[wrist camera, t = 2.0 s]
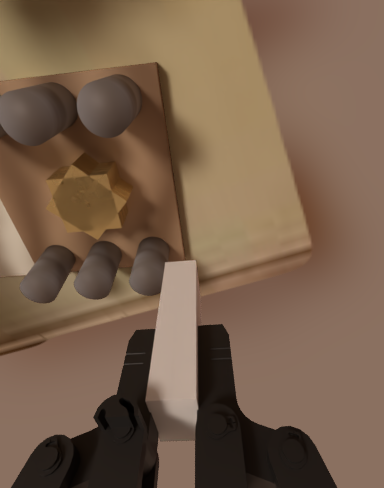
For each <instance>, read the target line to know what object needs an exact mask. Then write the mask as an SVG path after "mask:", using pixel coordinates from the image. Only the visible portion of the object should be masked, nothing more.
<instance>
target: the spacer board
mask: <svg viewBox="0 0 384 488" xmlns="http://www.w3.org/2000/svg"><path fill="white" fill-rule="evenodd" d="M83 153H86V154H87V155H89V156H90V157H92V158H93V159H94V160H96V161H97V162H99V163H103V162H113V161H116V165H117V169H118V173H119V177H120V178H122V179H123V180H124V181H126V182H127V183H129V184H130V185H132V186H133V188H132V191H131V193H130V195H129V198H128V200H127V202H126V204H127V208H128V214H127V216H126V219H125V221H124V224H123V226H122V228H116V229H106V230H105V231H104V232H103V234H102V235H101V236H100V238H99V239H98V240H97V239H95V238H94V237H92V236H90V235H89V234H87V233H85V232H83V231H82V232H70V233H67V231H66V228H65V226H64V223H63V221H62V219H61V218H60V217H58V216H56V215H55V214H53V213H51V212H50V211H48V210H46V207H47V206H48V204H49V202H50V200H51V199H52V194H51V192H50V189H49V187H48V184H47V182H46V179H48V178H49V177H50V176H51V175H52V174H53V173H54V172H55V171H57V170H58V169H59V168H60V167H64V166H71V165H72V164H73V163H74V162H75V161H76V160H77V159H78V158H79V157H80V156H81V155H82V154H83ZM176 261H185V252H184V245H183V238H182V231H181V224H180V217H179V210H178V203H177V197H176V190H175V183H174V176H173V169H172V162H171V155H170V148H169V141H168V134H167V127H166V120H165V113H164V106H163V99H162V92H161V85H160V78H159V71H158V64H157V62H155V63H147V64H139V65H130V66H122V67H114V68H106V69H97V70H89V71H81V72H73V73H64V74H56V75H48V76H40V77H31V78H23V79H15V80H7V81H0V277H7V276H19V275H26V276H25V278H24V279H23V280H22V282H21V283H20V290H21V292H22V294H23V295H24V296H25V297H27V298H28V299H30V300H32V301H34V302H37V303H50V302H52V301H53V300H55V298H56V297H57V295H58V293H59V291H60V289H61V288H62V286H63V284H64V282H65V280H66V279H67V277H68V275H69V273H70V272H73V271H79V273H78V275H77V277H76V279H75V281H74V287H75V289H76V291H77V292H78V293H79V294H81V295H82V296H84V297H86V298H89V299H102V298H105V297H106V296H107V295H108V294H109V293H110V290H111V287H112V284H113V281H114V279H115V276H116V273H117V270H118V268H123V267H133V268H132V271H131V275H130V279H129V283H130V286H131V287H132V289H133V290H134V291H136V292H137V293H139V294H142V295H147V296H151V295H156V294H158V293H160V292H161V289H162V282H163V275H164V268H165V262H176Z"/></svg>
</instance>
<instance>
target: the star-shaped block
mask: <svg viewBox="0 0 384 488" xmlns="http://www.w3.org/2000/svg"><path fill="white" fill-rule="evenodd" d="M46 182H47V184H48V187H49V189H50V192H51V194H52V199H51V200H50V202H49V204H48V206H47V207H46V210H48V211H50V212H51V213H53V214H55V215H56V216H58V217H60V218H61V219H62V221H63V223H64V226H65V228H66V231H67V233H70V232H82V231H83V232H85V233H87V234H89V235H90V236H92V237H94V238H95V239H97V240H98V239H99V238H100V236H101V235H102V234H103V232H104V231H105V230H106V229H116V228H122V226H123V224H124V221H125V219H126V216H127V214H128V208H127V204H126V202H127V200H128V198H129V195H130V193H131V191H132V188H133V186H132V185H130V184H129V183H127V182H126V181H124V180H123V179H122V178H120V177H119V173H118V169H117V165H116V161H113V162H103V163H99V162H97V161H96V160H94V159H93V158H92V157H90V156H89V155H87V154H86V153H83V154H82V155H81V156H80V157H79V158H78V159H77V160H76V161H75V162H74V163H73V164H72V165H71V166H64V167H60V168H59V169H58V170H57V171H55V172H54V173H53V174H52V175H51V176H50V177H49V178H48V179H46Z"/></svg>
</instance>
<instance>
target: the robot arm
mask: <svg viewBox="0 0 384 488" xmlns="http://www.w3.org/2000/svg"><path fill="white" fill-rule="evenodd" d="M94 419H95V421H96V423H97V424H98V427H97V428H95V429H93V430H91V431H89V432H86V433H84V434H81V435H79V436H76V437H74V438H72V439H70V438H68V437H67V436H65V435H54V436H52V437H49V438H47V439H46V440H44V441H43V442H42V443H40V444H39V445H38V446H37V447H36V449H35V450H34V451H33V453H32V454H31V455H30V457H29V459H28V461H27V462H26V464H25V466H24V467H23V469H22V470H21V472H20V474H19V475H18V477H17V479H16V480H15V482H14V484H13V485H12V487H11V488H157V480H158V468H159V457H158V453H157V446H158V436H159V438H160V441H187V440H188V441H189V440H195V488H337V486H336V484H335V482H334V480H333V479H332V477H331V475H330V473H329V471H328V469H327V467H326V465H325V463H324V461H323V459H322V458H321V456H320V454H319V452H318V450H317V448H316V446H315V444H314V443H313V442H312V440H311V439H310V438H309V436H308V435H307V434H305V433H304V432H302V431H301V430H300V429H297V428H294V427H291V426H285V427H280V428H278V429H276V430H274V429H271V428H268V427H265V426H262V425H259V424H257V423H254V422H253V421H251V420H250V419H248V418H247V417H246V416H245V415H244V414H243V413H242V411H241V410H240V408H239V406H238V403H237V399H236V392H235V384H234V375H233V367H232V359H231V349H230V341H229V334H228V333H227V331H226V329H225V328H224V326H223V325H222V324H219V325H203V326H202V325H201V297H200V289H199V280H198V272H197V263H196V260H190V261H176V262H165V268H164V275H163V282H162V289H161V296H160V303H159V309H158V317H157V323H156V329H145V330H136V331H135V333H134V334H133V336H132V337H131V339H130V340H129V343H128V347H127V352H126V356H125V361H124V366H123V369H122V374H121V378H120V382H119V387H118V391H117V395H113V396H111V397H110V398H108V399H106V400H105V401H104V402H103V403H102V404H101V405H100V406H99V407H98V409H97V411H96V413H95V415H94Z"/></svg>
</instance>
